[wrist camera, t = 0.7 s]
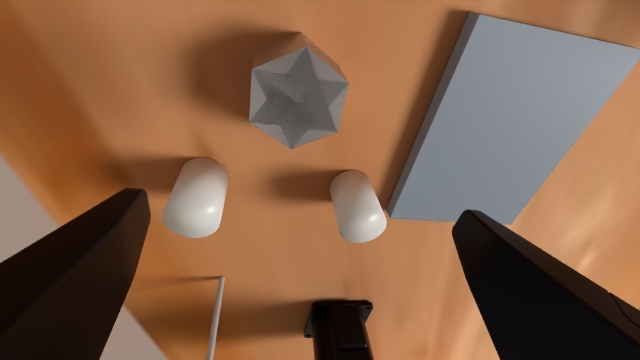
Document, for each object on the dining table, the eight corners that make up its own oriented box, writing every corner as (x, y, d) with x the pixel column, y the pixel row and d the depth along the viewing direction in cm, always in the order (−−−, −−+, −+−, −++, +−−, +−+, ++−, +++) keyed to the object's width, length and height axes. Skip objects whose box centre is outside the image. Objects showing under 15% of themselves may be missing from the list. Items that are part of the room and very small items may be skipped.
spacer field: (363, 203, 23) (378, 243, 20) (182, 192, 20) (166, 237, 17) (467, -87, 13) (529, -100, 10) (142, -183, 10) (84, -243, 7)
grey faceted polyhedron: (324, 127, 19) (332, 153, 16) (251, 119, 18) (247, 145, 15) (343, 39, 16) (355, 55, 13) (256, 23, 15) (253, 37, 12)
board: (503, 216, 26) (510, 224, 25) (386, 209, 24) (389, 218, 23) (629, 46, 18) (646, 50, 17) (469, 11, 16) (479, 14, 15)
